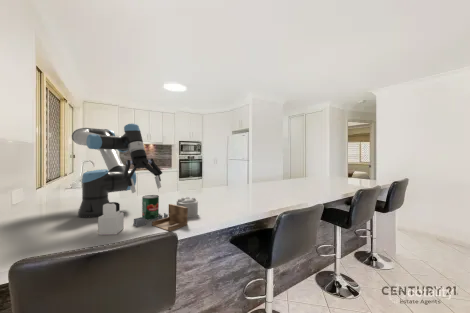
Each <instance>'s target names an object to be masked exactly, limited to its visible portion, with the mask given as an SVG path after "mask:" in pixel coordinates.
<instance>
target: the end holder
mask: <svg viewBox="0 0 470 313" xmlns="http://www.w3.org/2000/svg"><path fill="white" fill-rule="evenodd" d="M188 218H189V217H188V207H183V206H178V205H177V204H174V203H169V204H168V217H166V218H163V219H159V220H158V219H155V220H151V226H153V227H155V226H156V227H155V228H159V229H161V230H165V231H168V232H171V231H175V230H178V229H181V228H183V227H186V226H188V223H189V221H188V220H189V219H188Z"/></svg>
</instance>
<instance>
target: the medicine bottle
mask: <svg viewBox="0 0 470 313" xmlns="http://www.w3.org/2000/svg"><path fill="white" fill-rule="evenodd" d="M109 202H110V201H109ZM120 207H121V206H120V203H119V202H118V201H117V202H116V201H113V202H112V201H111V202H110V203H106V204H104V205H103V214H104V215H102V216H98V217H97V235H98V236H104V235H105V236H106V235H107V236H108V235H110V236H112V235H115V236H116V235H117V234H119V233H120V232H121V231H122V230H123V229H124V228H125V226H124V222H125V219H124V218H125V217H124V216H125V214H124V212H121V210H120V209H121V208H120Z"/></svg>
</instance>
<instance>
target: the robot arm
mask: <svg viewBox="0 0 470 313" xmlns="http://www.w3.org/2000/svg"><path fill="white" fill-rule="evenodd" d="M123 132H124V134H123V135H116V133H115V132H114V130H111V129H106V128H94V127H81V128H77V129H75V130H73V132H72V134H71V140H72V141H73V142H74V143H76V144H77V145H81V146H85V147H87V148H88V149H90V150H98V151H99V152H100V154H101V156H102V158H103V161H104V164H105V165H106V168H107V169H105V168H103V169H96V170H90V171H86V172H84V173H83V174H82V178H81V187H82V188H81V193H82V194H81V196H82V197H81V198H82V199H81V202H80V205H79V208H78V212H77V215H78V216H77V217H79V218H85V219H87V218H98V217H100V216H102V215H104V214H103V205H104V204H106V203H110V200H109V193H116V192H117V193H118V192H125V191H131V194H134V193H136V191H137V190H136V185H137V174H136V170H139V169H146V170H148V171H149V172H150V173H151V174H152V175H153V176H154V179H155V185H156V188H157V190H159V189H160V188H162V184H161V181H162V179H161V175H162V174H163V171H162V170H161V169H160V167H159V166H158V165H157V164H156V163H155V161H154V159H153V158H151V159H148V158H147V152H146V150H145V145H144V141H143V137H142V134H141V133H142V132H141V130H140V126H139V124H137V123H128V124H125V125H124V127H123ZM128 151H129V155H130V159H131V160H130V159H127V161H126V162H125V164H124V163H123V162H122V159H121V157H120V155H119V153H118V152H120V153H126V152H128ZM131 165H132V166H133V167H132V169H131V168H130V167H131ZM130 169H131V170H130Z"/></svg>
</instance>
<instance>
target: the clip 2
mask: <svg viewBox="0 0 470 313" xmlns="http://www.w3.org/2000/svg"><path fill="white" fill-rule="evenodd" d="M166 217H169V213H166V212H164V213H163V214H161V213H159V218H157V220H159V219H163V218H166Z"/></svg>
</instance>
